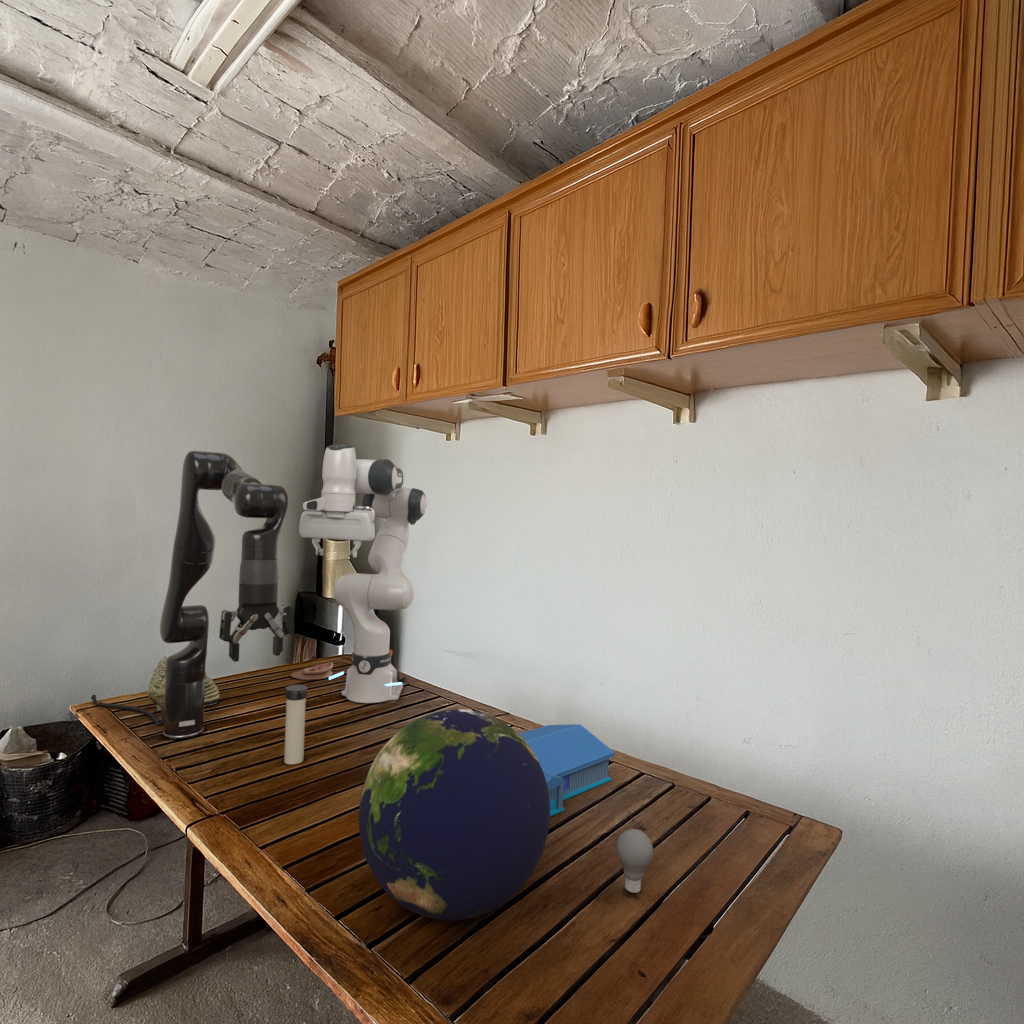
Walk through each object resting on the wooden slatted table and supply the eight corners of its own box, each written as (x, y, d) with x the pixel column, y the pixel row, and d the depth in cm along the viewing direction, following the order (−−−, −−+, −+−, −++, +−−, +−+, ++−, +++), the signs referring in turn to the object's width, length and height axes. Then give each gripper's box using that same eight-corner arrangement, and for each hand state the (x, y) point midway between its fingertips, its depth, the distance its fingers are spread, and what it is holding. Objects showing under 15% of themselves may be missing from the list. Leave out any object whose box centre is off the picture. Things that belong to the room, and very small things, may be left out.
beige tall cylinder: (279, 761, 150) (282, 690, 150) (294, 755, 154) (297, 685, 154) (293, 766, 148) (296, 693, 148) (307, 759, 152) (310, 688, 152)
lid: (280, 697, 150) (280, 688, 150) (296, 692, 154) (297, 683, 154) (295, 701, 148) (295, 692, 147) (311, 696, 152) (311, 687, 152)
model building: (493, 841, 119) (496, 788, 119) (420, 792, 137) (422, 747, 137) (623, 784, 145) (625, 741, 145) (547, 750, 164) (548, 712, 163)
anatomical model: (285, 666, 217) (303, 658, 228) (285, 677, 217) (303, 669, 228) (321, 670, 214) (337, 661, 225) (321, 681, 214) (337, 673, 225)
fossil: (144, 707, 182) (145, 655, 182) (212, 696, 194) (213, 647, 194) (151, 716, 175) (153, 662, 175) (221, 703, 188) (223, 653, 188)
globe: (312, 931, 92) (320, 727, 92) (418, 834, 120) (424, 677, 120) (501, 1001, 81) (511, 769, 81) (569, 876, 109) (577, 703, 108)
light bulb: (610, 879, 108) (613, 822, 108) (644, 879, 109) (647, 822, 109) (619, 902, 102) (622, 840, 102) (655, 901, 103) (658, 840, 103)
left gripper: (284, 576, 139) (281, 649, 139) (216, 579, 129) (213, 658, 130) (299, 580, 134) (296, 656, 134) (230, 584, 124) (227, 667, 124)
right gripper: (379, 506, 171) (377, 557, 172) (308, 503, 174) (306, 553, 174) (371, 506, 165) (369, 559, 165) (297, 503, 168) (295, 555, 168)
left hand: (256, 657), depth 132 cm, fingers open, 8 cm apart
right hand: (336, 556), depth 170 cm, fingers open, 8 cm apart
